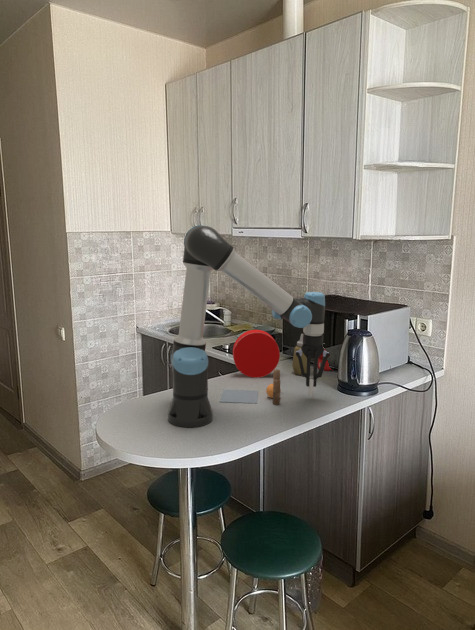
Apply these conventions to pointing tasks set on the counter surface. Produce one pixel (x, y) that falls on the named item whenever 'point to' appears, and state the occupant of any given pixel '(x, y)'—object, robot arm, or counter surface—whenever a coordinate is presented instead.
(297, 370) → the squeeze bottle
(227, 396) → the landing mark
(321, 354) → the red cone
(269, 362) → the red thick disc
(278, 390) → the near post
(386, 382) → the counter surface
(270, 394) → the ball
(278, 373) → the far post
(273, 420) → the counter surface
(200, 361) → the robot arm
